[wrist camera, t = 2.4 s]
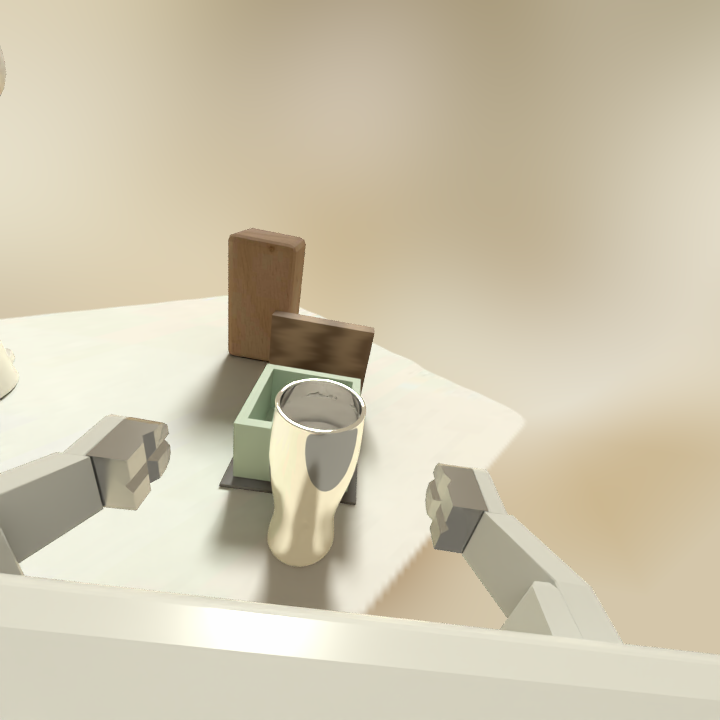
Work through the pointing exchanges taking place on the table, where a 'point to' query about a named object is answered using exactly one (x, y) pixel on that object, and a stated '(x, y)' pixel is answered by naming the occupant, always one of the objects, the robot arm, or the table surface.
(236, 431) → the sage green storage bin
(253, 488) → the box
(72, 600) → the robot arm
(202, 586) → the table surface
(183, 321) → the table surface
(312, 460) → the beer glass
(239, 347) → the wooden block
